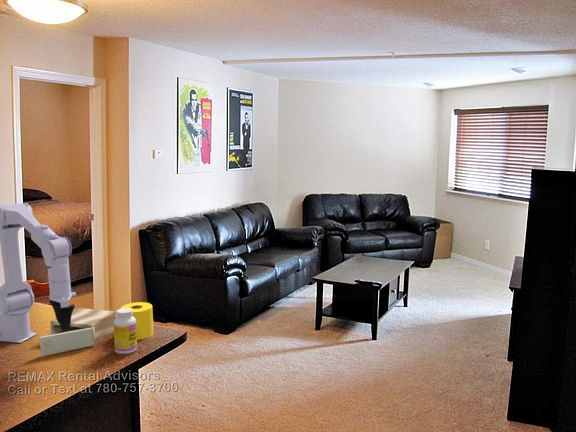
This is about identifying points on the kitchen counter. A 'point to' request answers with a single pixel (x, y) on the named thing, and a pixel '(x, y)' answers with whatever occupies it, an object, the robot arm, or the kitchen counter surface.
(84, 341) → the door
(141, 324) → the yellow toilet paper roll
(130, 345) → the supplement bottle
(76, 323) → the cabinet
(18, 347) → the kitchen counter surface
